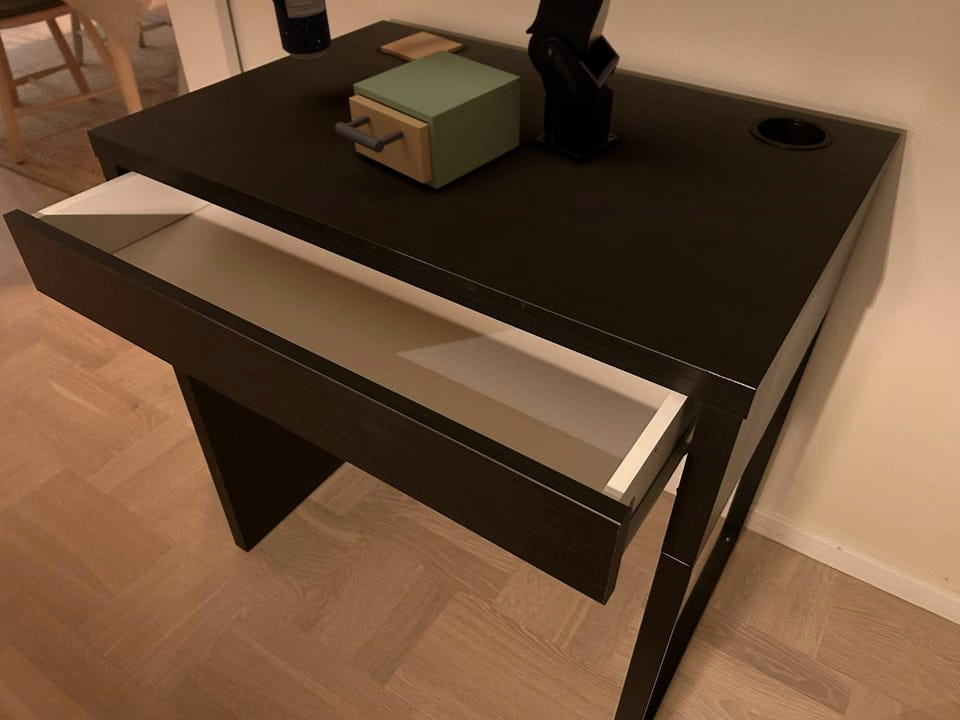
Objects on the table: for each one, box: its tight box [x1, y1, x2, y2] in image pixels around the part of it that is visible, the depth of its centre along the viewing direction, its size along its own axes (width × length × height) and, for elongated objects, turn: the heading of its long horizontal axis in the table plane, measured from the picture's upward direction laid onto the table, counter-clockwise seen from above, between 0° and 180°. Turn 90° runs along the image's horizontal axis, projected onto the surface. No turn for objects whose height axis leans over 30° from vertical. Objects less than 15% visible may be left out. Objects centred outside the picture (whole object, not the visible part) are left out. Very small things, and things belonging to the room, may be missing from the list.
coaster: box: [380, 30, 464, 62], centre depth 103 cm, size 8×8×1 cm
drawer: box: [334, 95, 432, 184], centre depth 77 cm, size 15×10×6 cm
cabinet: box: [352, 50, 522, 190], centre depth 79 cm, size 13×12×8 cm
